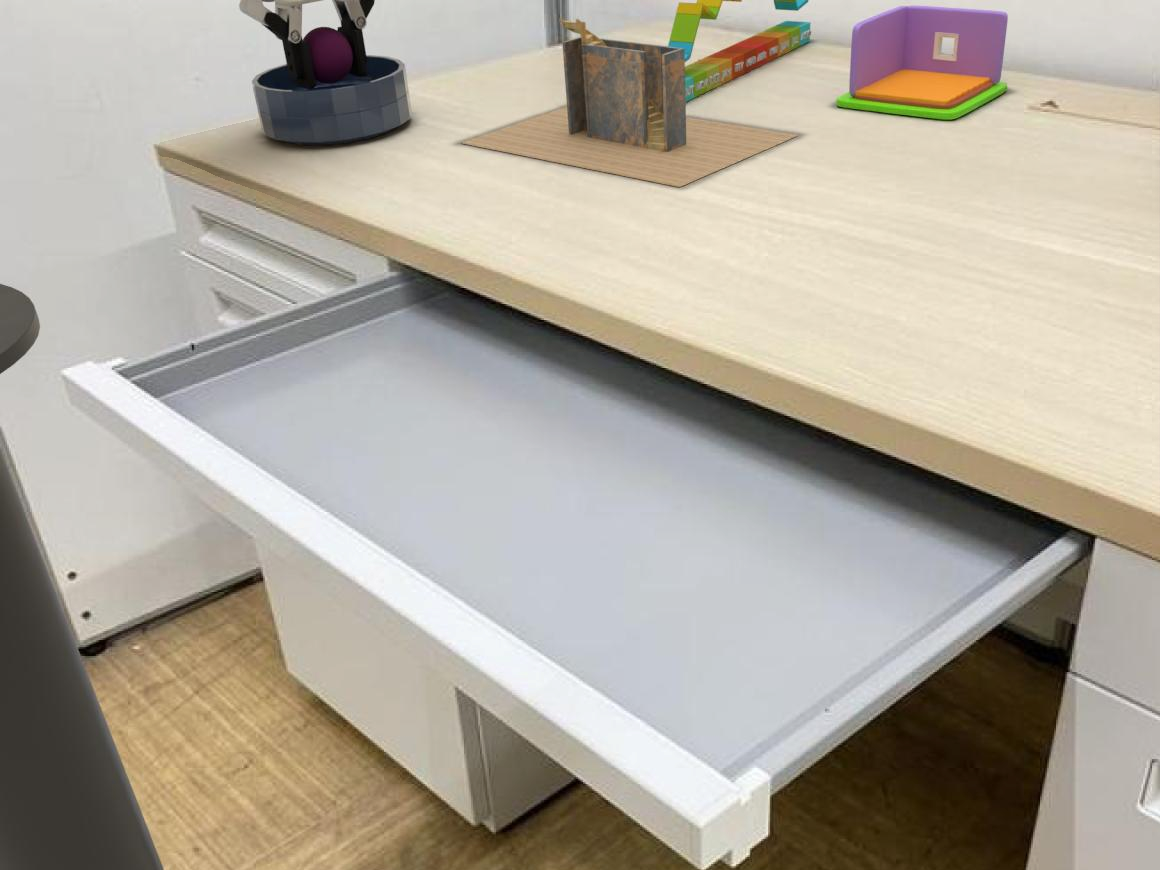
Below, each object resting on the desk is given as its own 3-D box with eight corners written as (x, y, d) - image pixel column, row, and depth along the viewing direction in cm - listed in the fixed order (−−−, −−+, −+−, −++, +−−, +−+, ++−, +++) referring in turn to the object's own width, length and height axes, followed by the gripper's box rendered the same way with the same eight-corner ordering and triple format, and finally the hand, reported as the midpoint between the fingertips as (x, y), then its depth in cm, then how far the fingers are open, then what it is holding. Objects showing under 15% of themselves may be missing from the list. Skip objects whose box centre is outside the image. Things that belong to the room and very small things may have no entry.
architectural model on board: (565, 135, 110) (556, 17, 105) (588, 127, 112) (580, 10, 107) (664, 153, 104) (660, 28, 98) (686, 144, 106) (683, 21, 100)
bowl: (275, 158, 110) (263, 99, 107) (255, 122, 121) (243, 68, 118) (427, 133, 114) (419, 76, 111) (394, 101, 125) (386, 48, 122)
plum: (309, 92, 113) (299, 35, 110) (301, 81, 116) (291, 26, 114) (361, 84, 114) (352, 28, 111) (351, 74, 118) (342, 19, 115)
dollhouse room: (893, 77, 120) (898, 0, 116) (1011, 89, 114) (1021, 8, 110) (830, 107, 113) (834, 25, 109) (953, 121, 106) (962, 36, 102)
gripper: (353, -159, 111) (386, 57, 122) (177, -136, 103) (229, 94, 113) (398, -158, 106) (428, 67, 117) (217, -134, 98) (268, 106, 108)
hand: (330, 78), depth 115 cm, fingers closed on plum, 4 cm apart
